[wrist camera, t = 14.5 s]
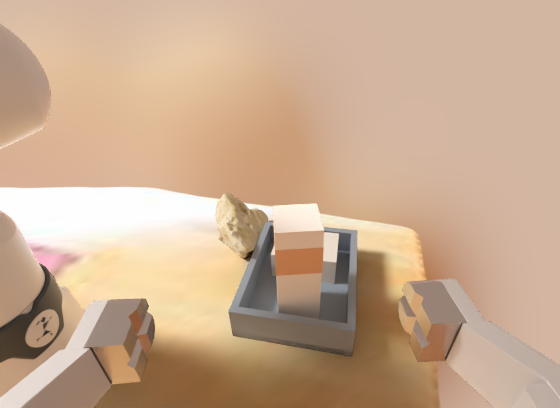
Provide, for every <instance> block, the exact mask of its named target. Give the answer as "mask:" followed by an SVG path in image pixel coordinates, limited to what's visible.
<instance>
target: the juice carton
mask: <svg viewBox="0 0 560 408" xmlns="http://www.w3.org/2000/svg"><path fill="white" fill-rule="evenodd" d="M273 218H274V222H273V226H274V246H275V263H276V280H277V299H278V313H282V314H289V315H295V316H302V317H308V318H315V319H319V312H320V295H321V278H322V269H323V252H324V247H323V243H324V228H323V224H322V220H321V217H320V213H319V210H318V206H317V204H297V205H279V206H273Z"/></svg>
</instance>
